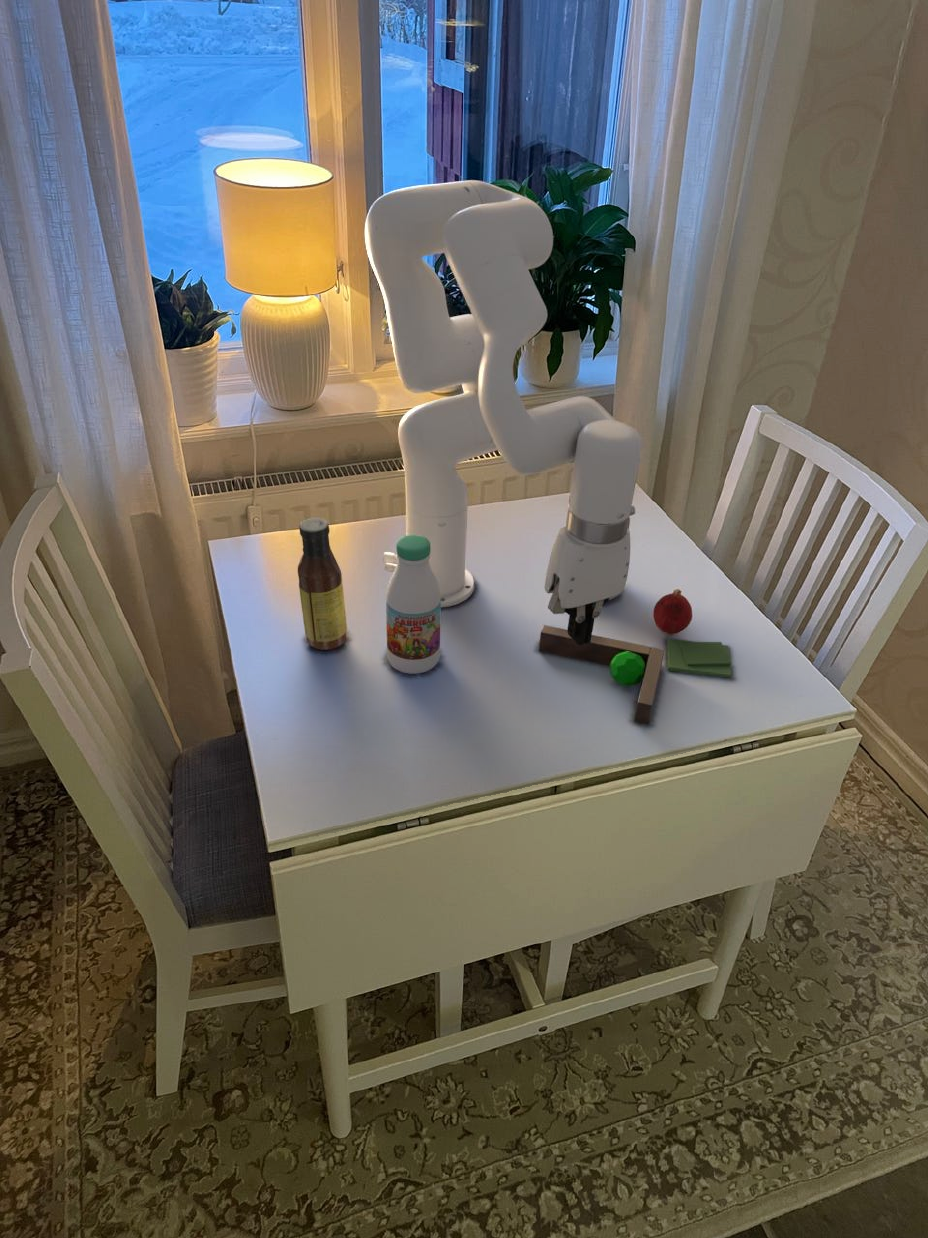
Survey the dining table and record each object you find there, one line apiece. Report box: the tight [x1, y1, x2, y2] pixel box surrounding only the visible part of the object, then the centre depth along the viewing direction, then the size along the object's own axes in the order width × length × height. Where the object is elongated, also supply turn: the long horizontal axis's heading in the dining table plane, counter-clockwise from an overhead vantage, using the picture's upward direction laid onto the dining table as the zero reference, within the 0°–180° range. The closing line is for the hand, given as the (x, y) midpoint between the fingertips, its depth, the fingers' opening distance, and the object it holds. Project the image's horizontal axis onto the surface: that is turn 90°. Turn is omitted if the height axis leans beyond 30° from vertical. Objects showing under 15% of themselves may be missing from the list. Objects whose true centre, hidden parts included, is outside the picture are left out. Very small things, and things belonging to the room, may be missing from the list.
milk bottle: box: [385, 535, 442, 675], centre depth 131 cm, size 8×8×20 cm
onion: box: [652, 588, 693, 635], centre depth 141 cm, size 6×6×8 cm
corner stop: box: [538, 624, 666, 725], centre depth 133 cm, size 18×13×4 cm
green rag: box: [666, 638, 732, 679], centre depth 138 cm, size 9×7×1 cm
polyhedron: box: [609, 651, 645, 688], centre depth 133 cm, size 5×5×5 cm
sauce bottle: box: [297, 517, 348, 651], centre depth 134 cm, size 7×6×20 cm
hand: (578, 638), depth 125 cm, fingers closed
